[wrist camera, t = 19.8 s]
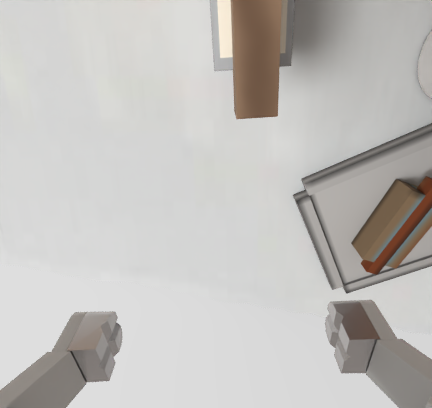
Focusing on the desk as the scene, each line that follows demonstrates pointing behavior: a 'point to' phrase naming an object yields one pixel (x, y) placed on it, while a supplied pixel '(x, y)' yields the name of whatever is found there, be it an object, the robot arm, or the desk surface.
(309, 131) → the desk surface
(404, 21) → the desk surface
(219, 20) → the plinth
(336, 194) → the grey tray
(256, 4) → the brown wooden bar
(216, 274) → the desk surface
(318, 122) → the desk surface
